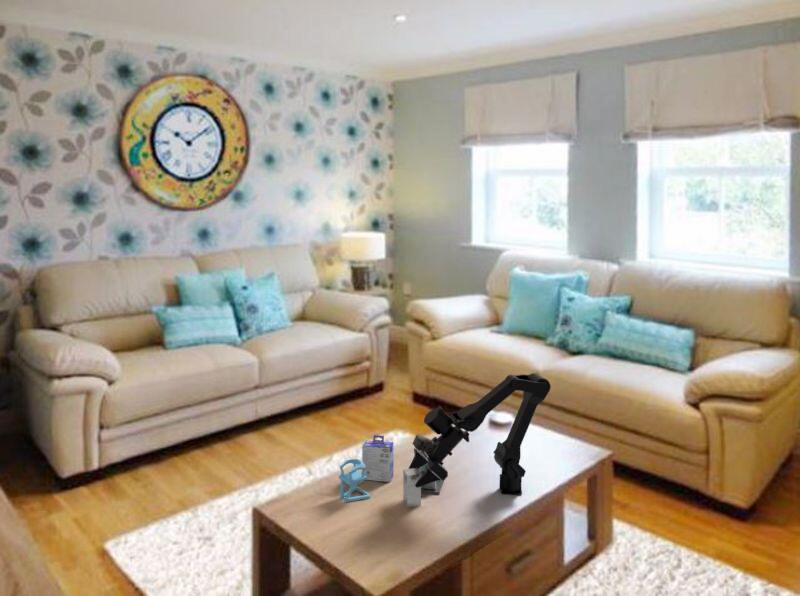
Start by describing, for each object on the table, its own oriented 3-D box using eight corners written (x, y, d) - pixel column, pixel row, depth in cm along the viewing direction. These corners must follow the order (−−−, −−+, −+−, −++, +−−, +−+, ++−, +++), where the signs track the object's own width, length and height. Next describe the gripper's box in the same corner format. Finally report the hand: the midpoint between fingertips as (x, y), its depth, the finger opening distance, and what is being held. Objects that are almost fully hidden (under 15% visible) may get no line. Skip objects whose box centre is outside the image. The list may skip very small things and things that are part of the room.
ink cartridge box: (394, 475, 221) (394, 435, 219) (390, 482, 216) (390, 441, 213) (366, 472, 223) (365, 432, 221) (362, 480, 218) (361, 439, 215)
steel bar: (417, 498, 205) (417, 467, 203) (420, 505, 201) (421, 474, 199) (403, 500, 204) (403, 469, 202) (407, 507, 200) (407, 475, 198)
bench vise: (418, 469, 225) (418, 457, 225) (447, 472, 223) (447, 459, 222) (408, 491, 210) (408, 477, 209) (439, 494, 208) (439, 481, 207)
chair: (335, 496, 207) (334, 461, 205) (357, 488, 212) (356, 454, 210) (348, 505, 201) (347, 469, 199) (370, 497, 206) (370, 462, 204)
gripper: (420, 416, 208) (386, 452, 207) (438, 438, 190) (401, 478, 190) (443, 437, 212) (410, 472, 211) (463, 461, 194) (427, 499, 193)
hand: (411, 479), depth 201 cm, fingers open, 9 cm apart
